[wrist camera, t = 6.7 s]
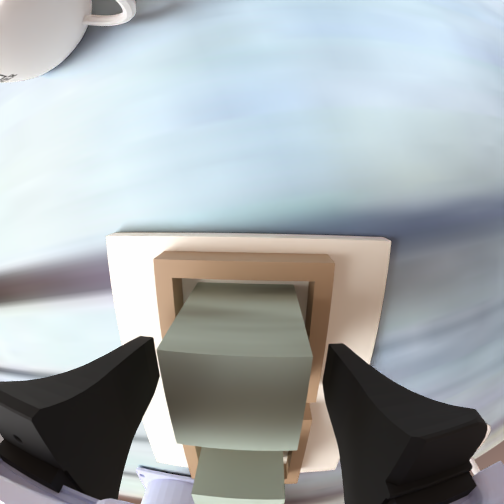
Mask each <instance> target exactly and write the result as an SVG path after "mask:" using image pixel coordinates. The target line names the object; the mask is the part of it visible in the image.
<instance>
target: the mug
mask: <svg viewBox="0 0 504 504" xmlns="http://www.w3.org/2000/svg"><path fill="white" fill-rule="evenodd" d="M116 1H117V2H118V3H119V4H120V6H121V7H122V9H123V12H122V13H120V14H116V15H92V14H91V13H92V0H0V83H4V82H18V81H24V80H28V79H32V78H36V77H39V76H41V75H43V74H45V73H46V72H48V71H50V70H51V69H53V68H55V67H56V66H57V65H59V64H60V63H61V62H62V61H64V60H65V59H66V58H67V57H68V56H69V55H70V54H71V52H72V51H73V50H74V49H75V47H76V46H77V45H78V43H79V42H80V40H81V39H82V37H83V35H84V33H85V32H86V29H87V27H88V25H95V26H114V25H120V24H124V23H126V22H128V21H130V20H131V19H132V18H133V17H134V16H135V14H136V2H135V0H116Z"/></svg>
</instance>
